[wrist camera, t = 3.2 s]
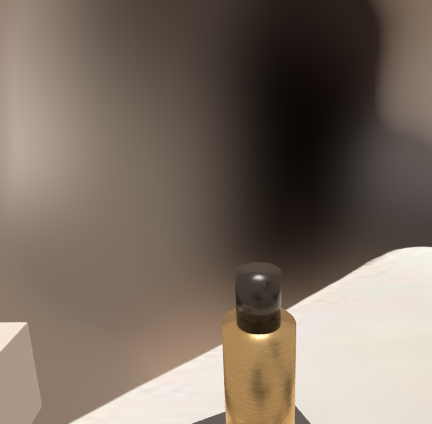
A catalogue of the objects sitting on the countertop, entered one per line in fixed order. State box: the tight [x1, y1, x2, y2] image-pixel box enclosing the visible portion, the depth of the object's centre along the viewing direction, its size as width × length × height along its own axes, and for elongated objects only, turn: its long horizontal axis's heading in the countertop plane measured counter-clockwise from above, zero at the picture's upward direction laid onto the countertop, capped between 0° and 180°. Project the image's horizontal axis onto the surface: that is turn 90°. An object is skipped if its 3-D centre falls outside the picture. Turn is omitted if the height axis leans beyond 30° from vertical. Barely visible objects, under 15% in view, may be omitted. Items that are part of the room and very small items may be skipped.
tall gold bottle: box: [222, 262, 296, 424], centre depth 23 cm, size 4×4×18 cm
